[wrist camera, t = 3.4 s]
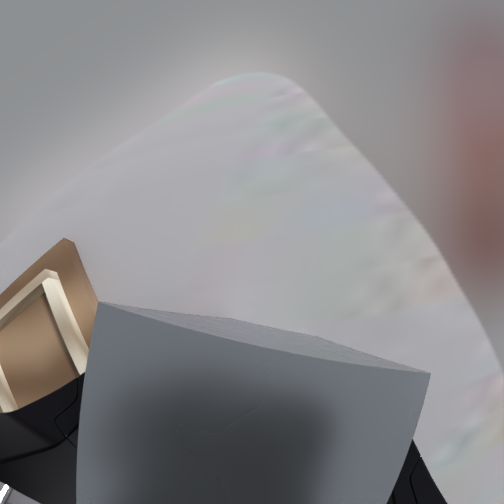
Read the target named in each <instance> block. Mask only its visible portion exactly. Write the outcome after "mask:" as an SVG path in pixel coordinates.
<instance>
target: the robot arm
mask: <svg viewBox="0 0 504 504" xmlns="http://www.w3.org/2000/svg"><path fill="white" fill-rule="evenodd" d="M84 377H85V372H84V373H82V374H81V375H79V377H76V378H75V379H73V380H72V381H70V382H68V383H67V384H65V385H64V386H62V387H60V388H59V389H57V390H55V391H53V392H52V393H50V394H48V395H46V396H44V397H42V398H40V399H38V400H36V401H34V402H32V403H30V404H28V405H26V406H24V407H22V408H20V409H17V410H14V411H11V412H4V413H0V504H76V472H77V447H78V432H79V420H80V410H81V401H82V392H83V385H84ZM387 504H447V502H446V501H445V499H444V497H443V496H442V494H441V492H440V491H439V489H438V488H437V486H436V484H435V482H434V481H433V479H432V477H431V475H430V473H429V471H428V469H427V467H426V465H425V463H424V461H423V459H422V457H420V453H419V451H418V449H417V447H416V445H415V443H414V441H413V439H412V441H411V444H410V447H409V450H408V453H407V456H406V458H405V461H404V464H403V466H402V469H401V471H400V474H399V476H398V479H397V481H396V483H395V486H394V488H393V490H392V493H391V495H390V497H389V499H388V502H387Z"/></svg>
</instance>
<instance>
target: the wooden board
mask: <svg viewBox="0 0 504 504" xmlns="http://www.w3.org/2000/svg"><path fill="white" fill-rule="evenodd" d="M97 306H98V300H97V298H96V296H95V293H94V291H93V289H92V286H91V284H90V282H89V279H88V277H87V274H86V272H85V270H84V267H83V265H82V262H81V260H80V257H79V254H78V252H77V249H76V246H75V244H74V242H72V241H70V240H67V239H65V238H63V239H62V240H61V241H59V242H58V243H57V244H56V245H55V246H53V247H52V248H51V249H50V250H49V251H48V252H46V253H45V254H44V255H43V256H42V257H41V258H39V259H38V260H37V261H36V262H35V263H34V264H33V265H32V266H30V267H29V268H28V269H27V270H26V271H25V272H24V273H23V274H22V275H21V276H19V277H18V278H17V279H16V280H15V281H14V282H13V283H12V284H11V285H10V286H9V287H8V288H7V289H6V290H5V291H4V292H3V293H2V294H1V295H0V413H4V412H11V411H14V410H17V409H20V408H22V407H24V406H26V405H28V404H30V403H32V402H34V401H36V400H38V399H40V398H42V397H44V396H46V395H48V394H50V393H52V392H53V391H55V390H57V389H59V388H60V387H62V386H64V385H65V384H67V383H68V382H70V381H72V380H73V379H75V378H76V377H79V375H81V374H82V373H84V372H85V370H86V364H87V358H88V352H89V346H90V340H91V335H92V330H93V325H94V320H95V315H96V311H97Z"/></svg>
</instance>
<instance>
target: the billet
mask: <svg viewBox="0 0 504 504" xmlns="http://www.w3.org/2000/svg"><path fill="white" fill-rule="evenodd" d="M430 375H431V373H428V372H425V371H422V370H418V369H415V368H411V367H408V366H405V365H401V364H398V363H395V362H392V361H389V360H385V359H382V358H379V357H376V356H373V355H370V354H367V353H363V352H360V351H357V350H354V349H351V348H348V347H345V346H342V345H339V344H336V343H334V342H331V341H328V340H325V339H322V338H319V337H316V336H311V335H306V334H300V333H295V332H290V331H285V330H281V329H276V328H271V327H266V326H262V325H257V324H252V323H248V322H244V321H239V320H235V319H229V318H219V317H209V316H200V315H191V314H183V313H174V312H166V311H159V310H151V309H144V308H137V307H130V306H123V305H117V304H111V303H104V302H98V306H97V311H96V315H95V320H94V325H93V330H92V335H91V340H90V346H89V352H88V358H87V364H86V370H85V377H84V385H83V392H82V401H81V410H80V420H79V432H78V447H77V472H76V504H387V502H388V499H389V497H390V495H391V493H392V490H393V488H394V486H395V483H396V481H397V479H398V476H399V474H400V471H401V469H402V466H403V464H404V461H405V458H406V456H407V453H408V450H409V447H410V444H411V441H412V439H413V436H414V432H415V429H416V426H417V423H418V420H419V416H420V413H421V410H422V406H423V402H424V399H425V395H426V391H427V387H428V383H429V379H430Z"/></svg>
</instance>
